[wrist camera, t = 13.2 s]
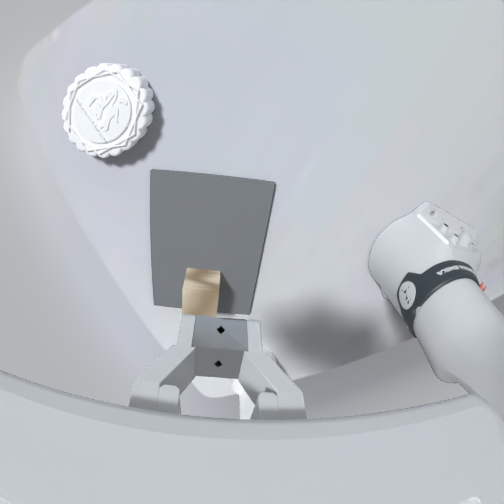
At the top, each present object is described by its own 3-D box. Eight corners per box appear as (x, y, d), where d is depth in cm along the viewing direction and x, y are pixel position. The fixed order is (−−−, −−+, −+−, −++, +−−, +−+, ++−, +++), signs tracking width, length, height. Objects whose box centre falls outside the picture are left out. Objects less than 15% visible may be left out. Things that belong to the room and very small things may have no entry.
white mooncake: (174, 116, 34) (167, 120, 31) (104, 169, 37) (94, 178, 34) (123, 44, 28) (112, 42, 25) (57, 104, 31) (43, 108, 28)
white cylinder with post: (241, 343, 56) (243, 398, 46) (284, 353, 58) (291, 405, 48) (225, 368, 60) (224, 419, 50) (264, 377, 62) (268, 425, 52)
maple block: (216, 318, 44) (217, 296, 48) (219, 293, 41) (220, 271, 46) (182, 315, 43) (186, 292, 48) (182, 289, 41) (187, 267, 45)
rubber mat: (274, 181, 39) (275, 183, 38) (249, 312, 51) (249, 314, 51) (151, 169, 37) (150, 170, 37) (154, 302, 49) (154, 304, 49)
